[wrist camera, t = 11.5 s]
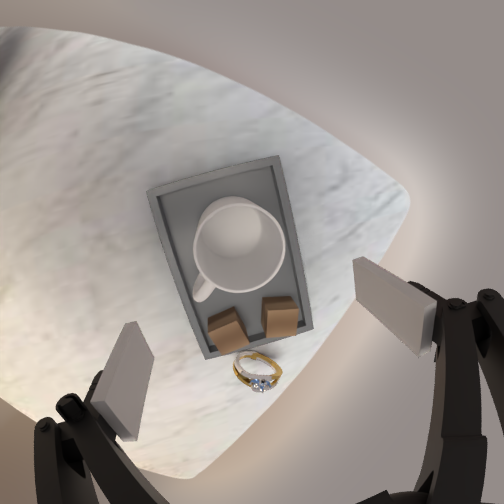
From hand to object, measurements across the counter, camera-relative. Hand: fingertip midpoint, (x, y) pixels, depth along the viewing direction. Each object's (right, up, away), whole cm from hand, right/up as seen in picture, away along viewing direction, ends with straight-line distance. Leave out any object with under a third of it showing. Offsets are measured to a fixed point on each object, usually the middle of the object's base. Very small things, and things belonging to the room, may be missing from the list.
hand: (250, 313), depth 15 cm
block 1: (-3, -6, +22) cm, 23 cm away
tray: (-2, +2, +21) cm, 21 cm away
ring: (0, -12, +25) cm, 28 cm away
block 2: (+3, -5, +23) cm, 24 cm away
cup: (-4, +5, +19) cm, 20 cm away
